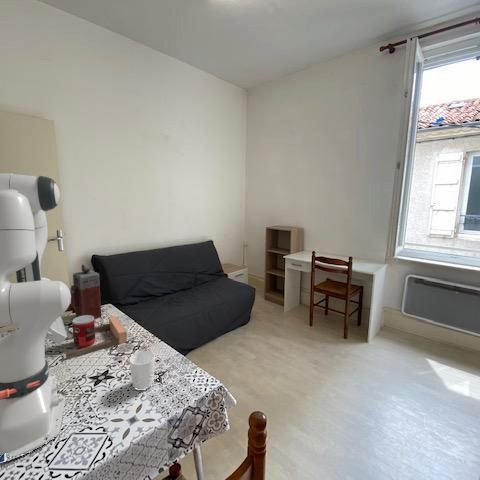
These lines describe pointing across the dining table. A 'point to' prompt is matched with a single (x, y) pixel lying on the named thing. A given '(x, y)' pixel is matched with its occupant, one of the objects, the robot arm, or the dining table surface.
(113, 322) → the end stop
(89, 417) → the dining table surface
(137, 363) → the white cup
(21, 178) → the robot arm
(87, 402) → the dining table surface
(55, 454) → the dining table surface
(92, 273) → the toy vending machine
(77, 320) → the canned food
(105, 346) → the guide rails
